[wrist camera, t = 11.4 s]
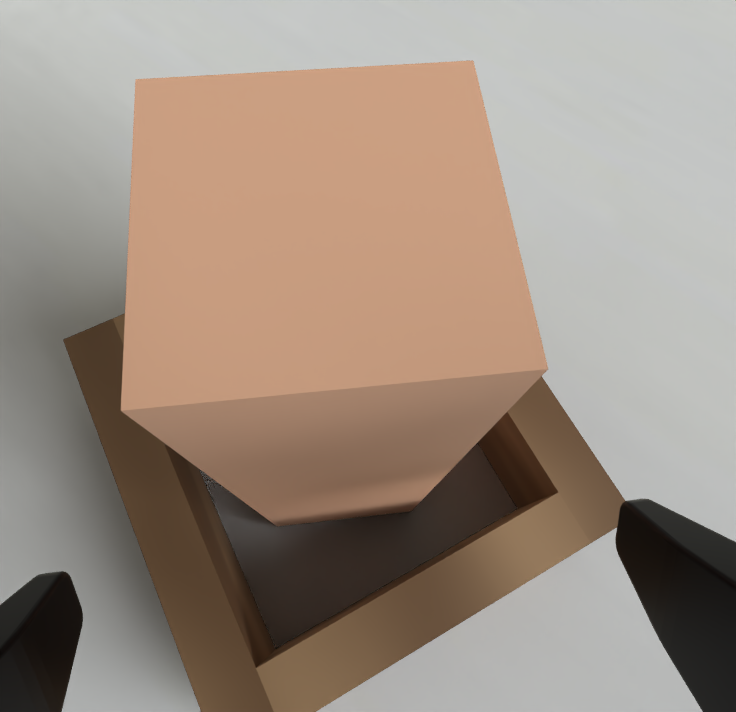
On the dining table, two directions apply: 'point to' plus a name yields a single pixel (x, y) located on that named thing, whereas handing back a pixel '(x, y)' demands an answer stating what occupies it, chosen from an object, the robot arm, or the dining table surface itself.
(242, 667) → the walnut well holder
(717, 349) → the dining table surface
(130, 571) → the dining table surface
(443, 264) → the terracotta peg
